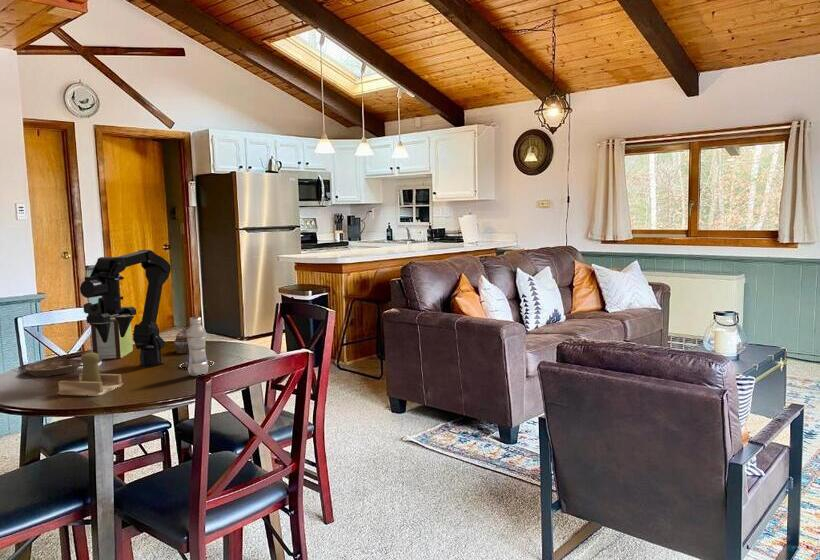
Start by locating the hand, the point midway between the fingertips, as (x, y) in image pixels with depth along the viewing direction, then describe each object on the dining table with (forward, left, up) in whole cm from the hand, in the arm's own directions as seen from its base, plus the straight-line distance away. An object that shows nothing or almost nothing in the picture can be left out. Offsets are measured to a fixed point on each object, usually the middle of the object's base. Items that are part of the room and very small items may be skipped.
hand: (113, 339), depth 208 cm
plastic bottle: (-16, +23, -13) cm, 31 cm away
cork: (+13, +8, -12) cm, 20 cm away
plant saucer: (+7, -28, -14) cm, 32 cm away
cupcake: (-38, -14, -13) cm, 43 cm away
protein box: (-19, -35, -13) cm, 42 cm away
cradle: (+13, +8, -13) cm, 20 cm away
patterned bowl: (-25, +10, -14) cm, 30 cm away
